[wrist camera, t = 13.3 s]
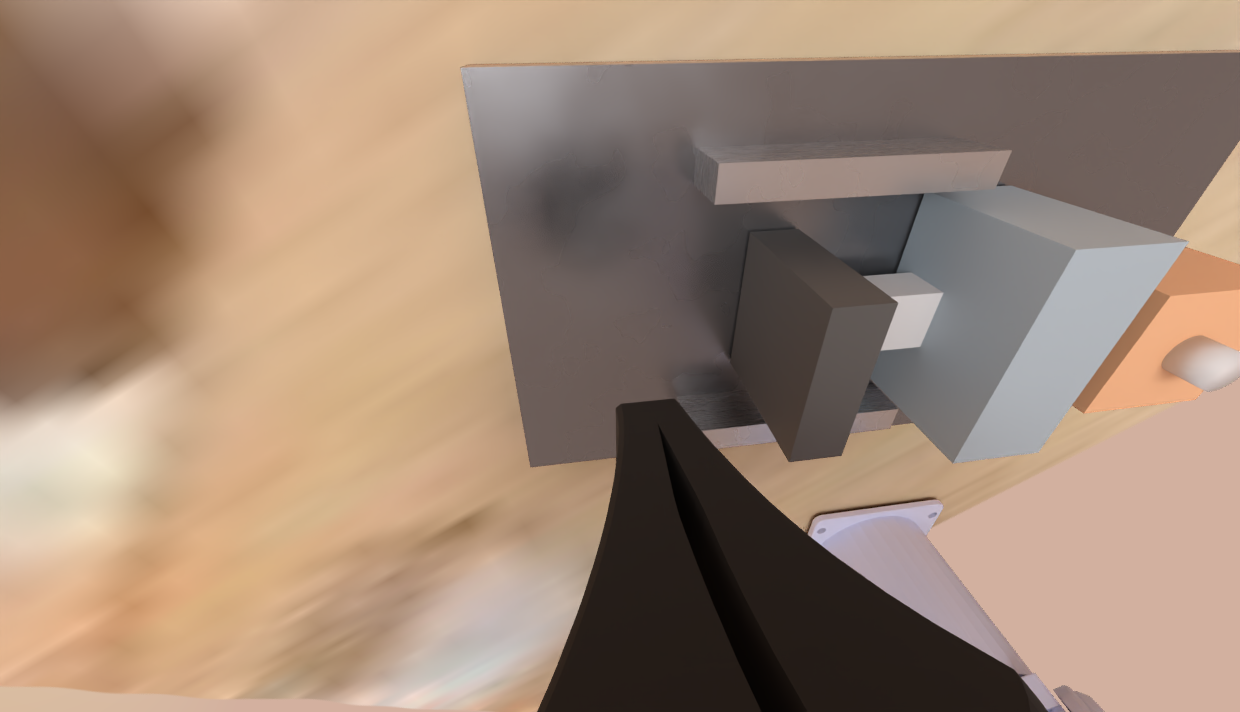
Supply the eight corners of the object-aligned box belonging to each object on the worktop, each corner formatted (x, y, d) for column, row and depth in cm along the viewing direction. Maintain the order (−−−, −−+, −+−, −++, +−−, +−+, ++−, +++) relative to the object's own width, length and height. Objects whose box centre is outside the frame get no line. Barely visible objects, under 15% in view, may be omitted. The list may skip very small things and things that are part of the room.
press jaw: (930, 362, 19) (1038, 452, 15) (726, 383, 18) (782, 485, 14) (1010, 185, 15) (1188, 241, 11) (755, 199, 14) (844, 267, 10)
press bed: (1028, 386, 23) (1097, 436, 20) (531, 441, 20) (529, 507, 17) (1239, 49, 15) (1403, 52, 12) (468, 64, 12) (447, 72, 9)
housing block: (1051, 320, 19) (1234, 421, 14) (961, 329, 18) (1116, 436, 13) (1110, 222, 16) (1354, 301, 11) (1009, 229, 16) (1217, 315, 11)
